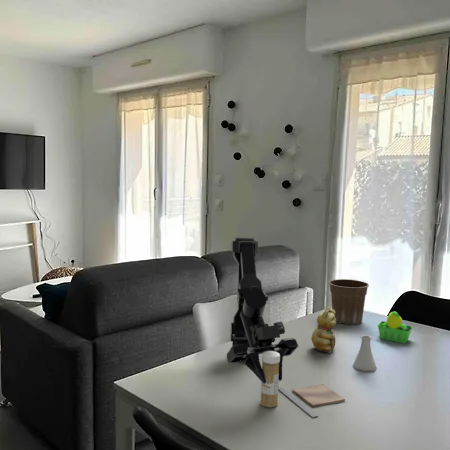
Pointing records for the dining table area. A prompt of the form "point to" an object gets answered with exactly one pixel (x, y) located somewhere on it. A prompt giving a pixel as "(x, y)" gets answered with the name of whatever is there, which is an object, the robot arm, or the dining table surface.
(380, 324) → the fruit basket
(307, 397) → the board
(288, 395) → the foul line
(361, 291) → the plant pot
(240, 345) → the robot arm
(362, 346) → the flask
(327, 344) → the decorative figurine
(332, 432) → the dining table surface
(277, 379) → the sprinkles bottle
